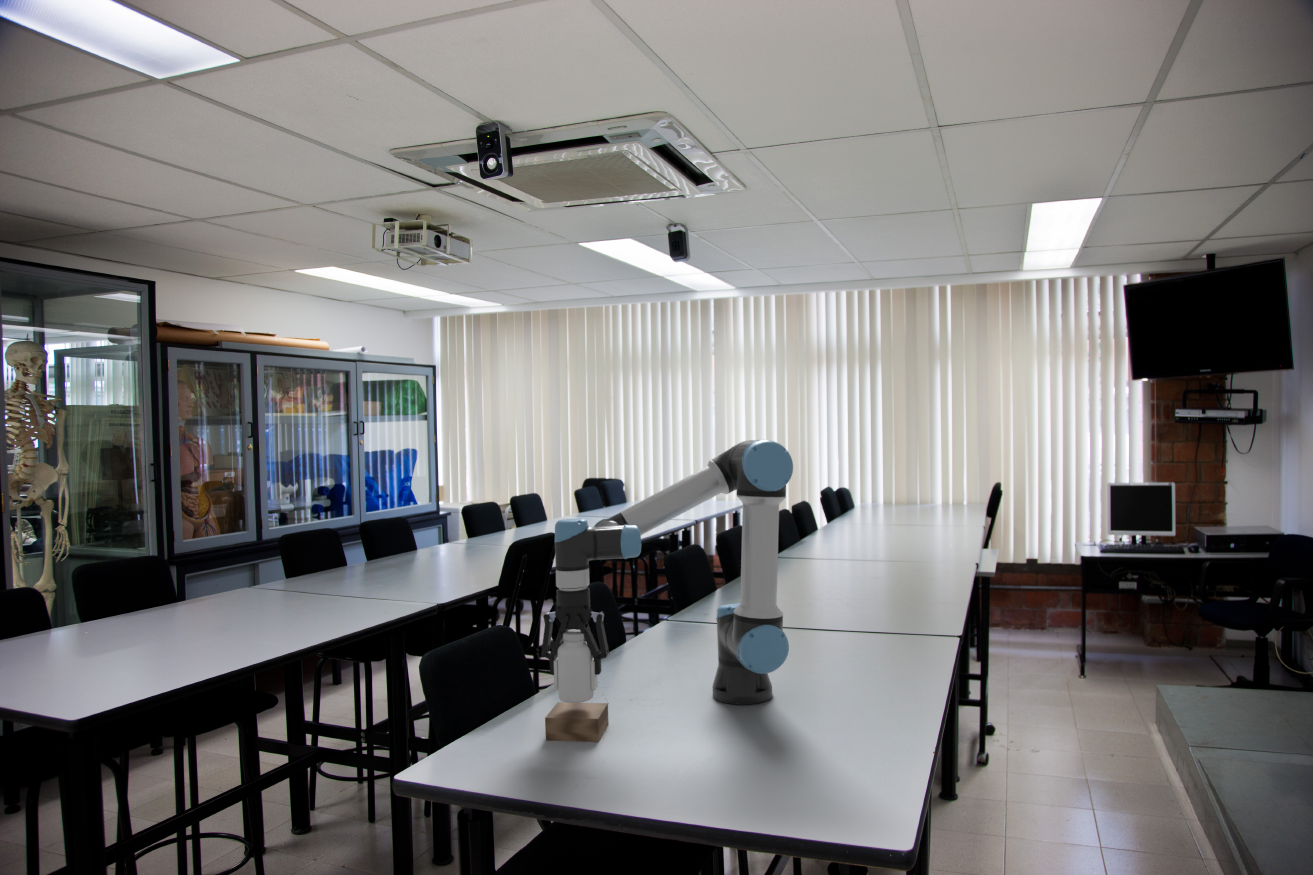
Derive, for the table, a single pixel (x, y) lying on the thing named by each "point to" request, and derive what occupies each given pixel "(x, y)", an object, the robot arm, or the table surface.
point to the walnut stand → (576, 722)
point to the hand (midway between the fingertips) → (576, 687)
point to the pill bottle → (574, 668)
